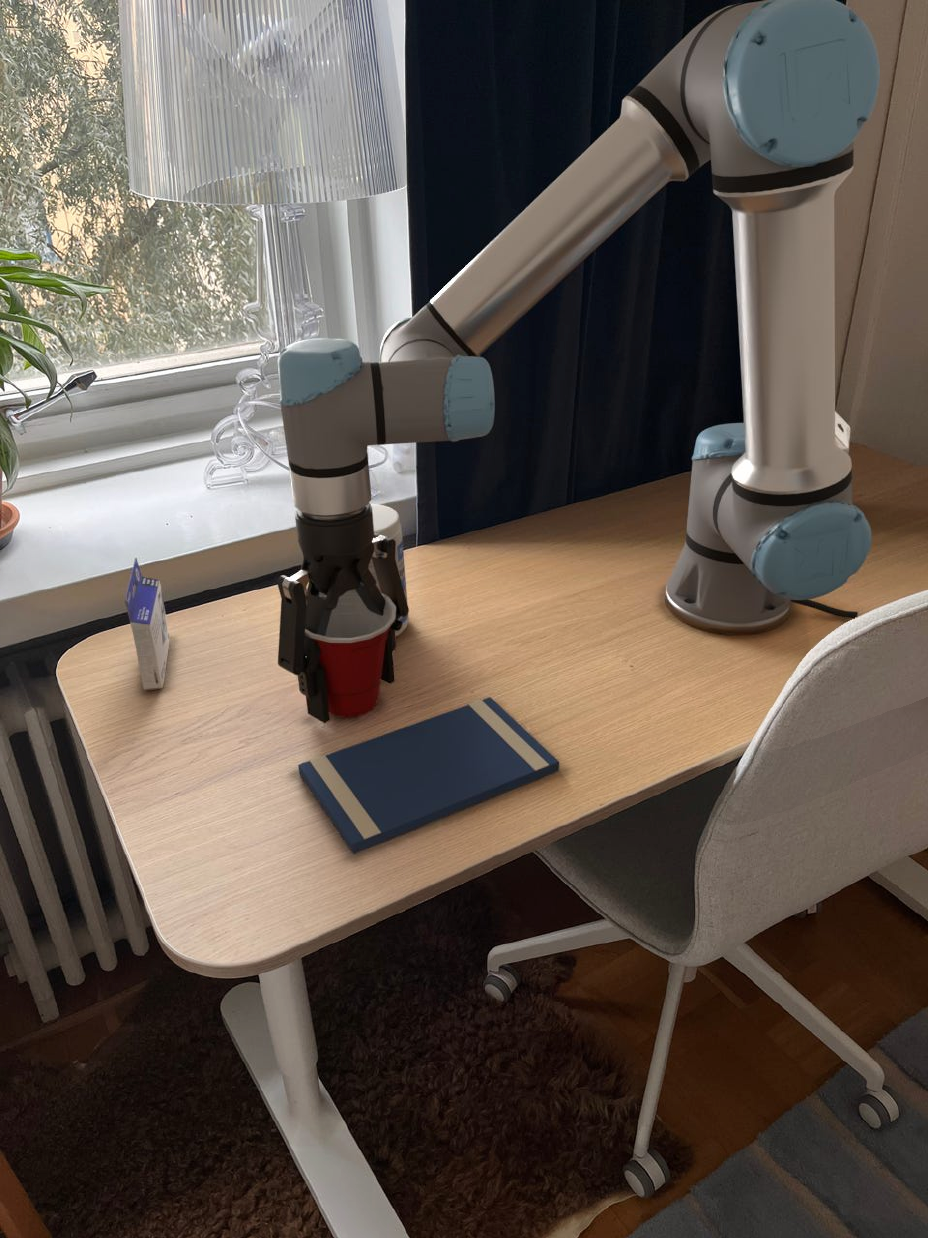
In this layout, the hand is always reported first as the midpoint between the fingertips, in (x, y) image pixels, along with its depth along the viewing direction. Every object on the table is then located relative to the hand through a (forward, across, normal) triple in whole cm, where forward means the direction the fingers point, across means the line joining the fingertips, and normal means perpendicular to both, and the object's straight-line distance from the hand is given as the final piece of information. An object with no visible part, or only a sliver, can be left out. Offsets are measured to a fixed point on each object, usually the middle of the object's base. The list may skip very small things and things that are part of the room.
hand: (352, 697), depth 105 cm
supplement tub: (+1, -12, -11) cm, 16 cm away
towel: (+1, +3, +14) cm, 15 cm away
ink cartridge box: (+1, -78, +16) cm, 80 cm away
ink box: (+1, +9, -24) cm, 25 cm away
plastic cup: (+1, 0, 0) cm, 1 cm away
